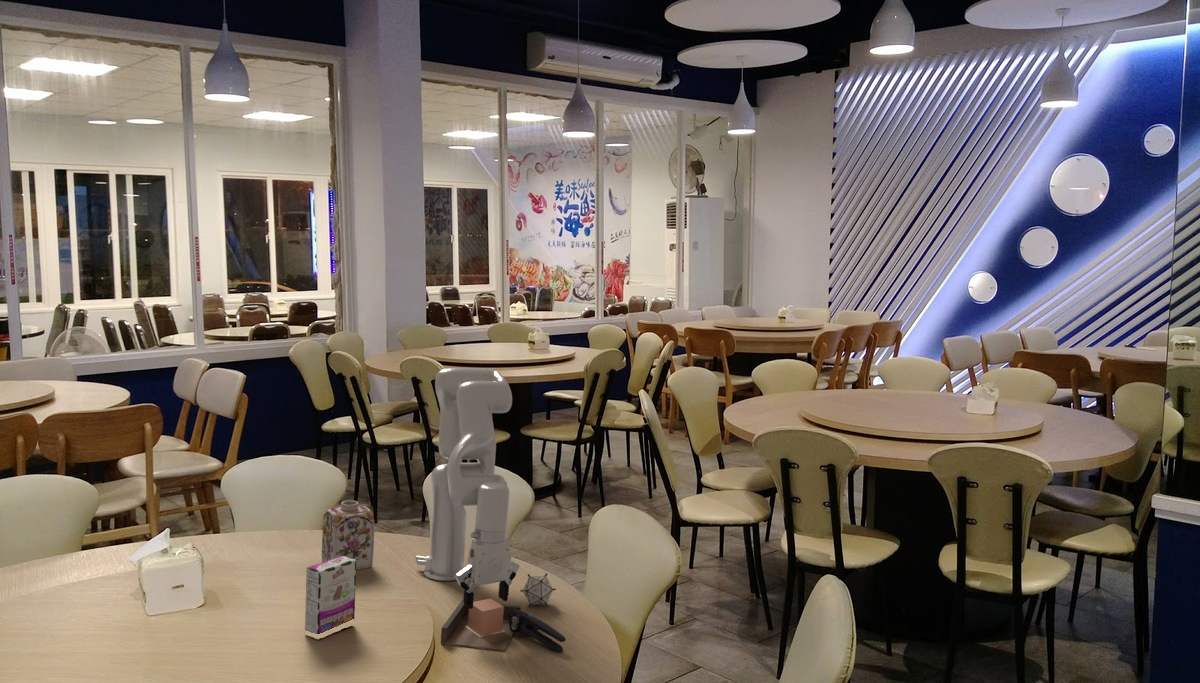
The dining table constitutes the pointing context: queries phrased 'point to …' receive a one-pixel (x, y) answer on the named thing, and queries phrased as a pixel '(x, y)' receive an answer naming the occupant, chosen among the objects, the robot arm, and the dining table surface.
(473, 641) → the tray
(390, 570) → the dining table surface
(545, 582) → the game die
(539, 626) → the can opener
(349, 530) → the decorative jar
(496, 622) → the cube
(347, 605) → the candy bar box
